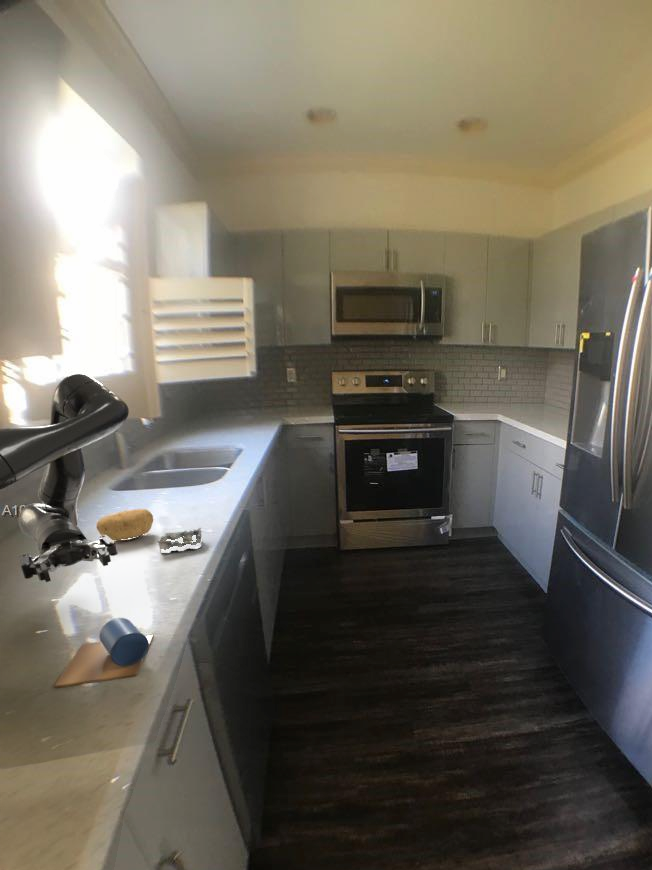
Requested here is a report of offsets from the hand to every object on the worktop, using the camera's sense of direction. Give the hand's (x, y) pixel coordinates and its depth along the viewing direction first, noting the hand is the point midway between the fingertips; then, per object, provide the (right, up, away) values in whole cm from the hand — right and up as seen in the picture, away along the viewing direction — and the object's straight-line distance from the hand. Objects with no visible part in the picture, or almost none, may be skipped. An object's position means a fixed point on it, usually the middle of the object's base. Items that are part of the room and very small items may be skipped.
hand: (77, 568), depth 78 cm
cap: (+11, -13, -3) cm, 17 cm away
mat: (+5, -16, 0) cm, 17 cm away
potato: (-19, +2, +50) cm, 54 cm away
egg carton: (-1, 0, +44) cm, 44 cm away
